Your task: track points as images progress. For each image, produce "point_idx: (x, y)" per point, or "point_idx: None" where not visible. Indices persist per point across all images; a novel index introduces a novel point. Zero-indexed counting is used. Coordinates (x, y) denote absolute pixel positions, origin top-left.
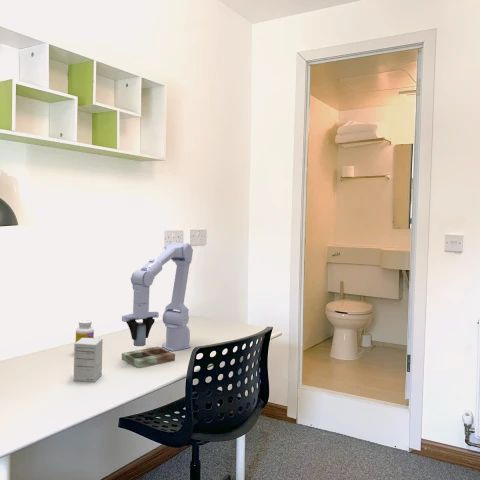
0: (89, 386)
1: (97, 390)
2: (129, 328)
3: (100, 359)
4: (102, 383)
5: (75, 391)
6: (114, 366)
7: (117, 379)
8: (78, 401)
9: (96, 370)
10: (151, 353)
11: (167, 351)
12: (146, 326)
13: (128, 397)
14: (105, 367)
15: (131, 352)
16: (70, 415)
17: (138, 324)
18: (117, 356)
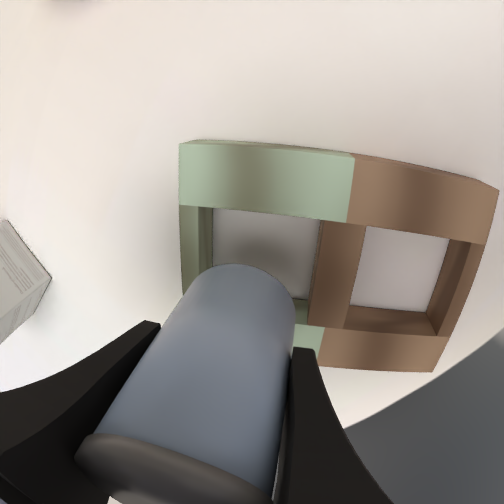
0: (23, 326)
1: (39, 357)
2: (52, 380)
3: (3, 326)
4: (49, 336)
5: None
6: (113, 225)
7: (88, 347)
8: (13, 364)
9: (14, 329)
10: (350, 291)
11: (449, 319)
12: (277, 493)
13: None
14: (78, 210)
15: (248, 174)
16: (12, 386)
17: (127, 500)
18: (211, 61)
